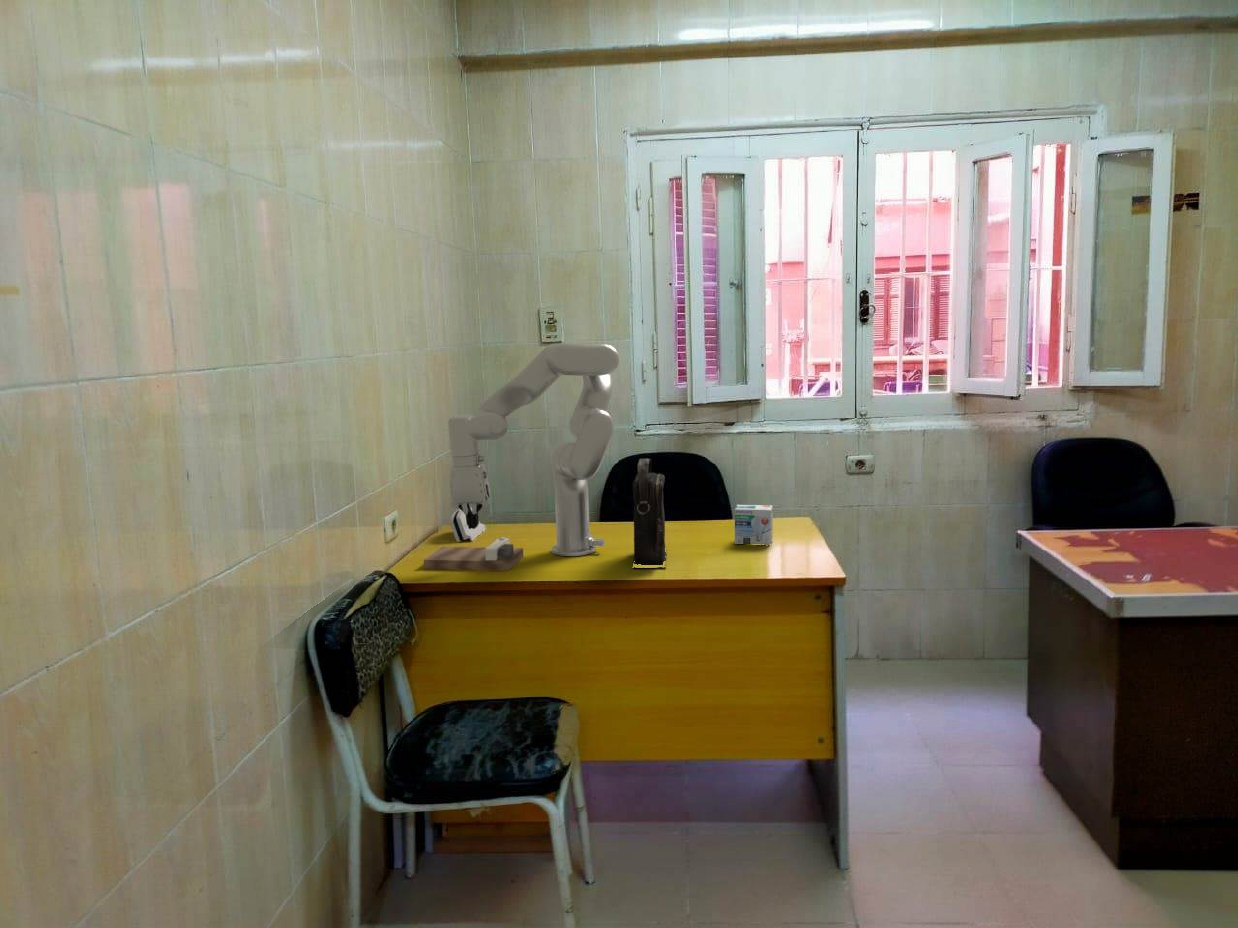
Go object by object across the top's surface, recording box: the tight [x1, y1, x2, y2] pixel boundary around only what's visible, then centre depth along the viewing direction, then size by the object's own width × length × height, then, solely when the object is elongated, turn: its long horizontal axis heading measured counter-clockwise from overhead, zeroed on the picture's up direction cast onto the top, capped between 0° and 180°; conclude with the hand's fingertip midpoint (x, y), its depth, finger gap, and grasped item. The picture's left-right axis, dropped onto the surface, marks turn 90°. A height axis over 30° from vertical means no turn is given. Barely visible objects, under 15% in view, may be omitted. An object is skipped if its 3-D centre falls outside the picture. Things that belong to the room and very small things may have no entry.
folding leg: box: [485, 536, 510, 560], centre depth 240 cm, size 12×3×3 cm, turn 171°
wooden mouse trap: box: [423, 543, 524, 571], centre depth 242 cm, size 24×14×6 cm, turn 80°
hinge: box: [449, 506, 487, 543], centre depth 275 cm, size 17×5×10 cm, turn 174°
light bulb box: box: [734, 504, 774, 545], centre depth 255 cm, size 11×7×11 cm, turn 76°
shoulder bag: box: [632, 457, 668, 565], centre depth 240 cm, size 23×9×28 cm, turn 176°
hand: (473, 527), depth 238 cm, fingers closed
